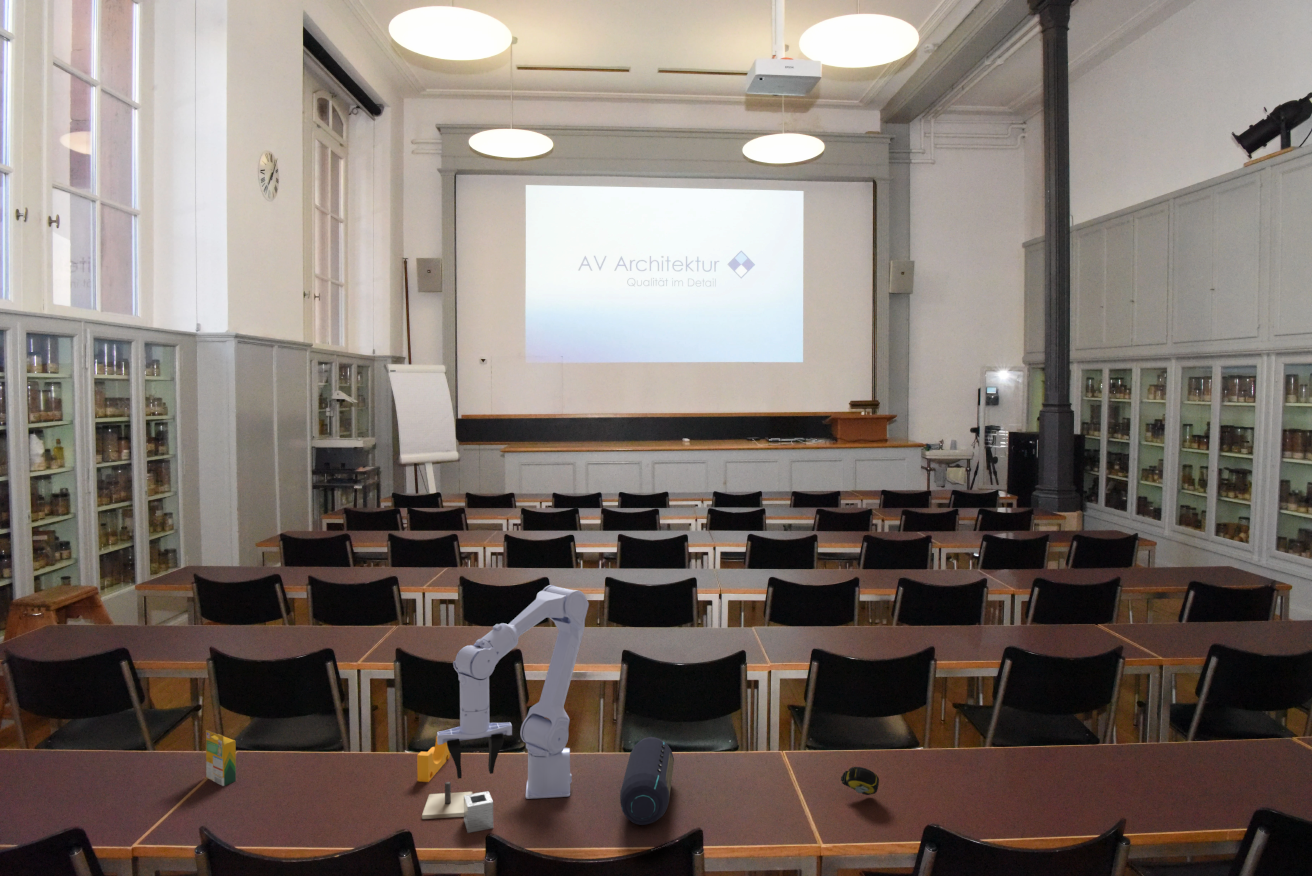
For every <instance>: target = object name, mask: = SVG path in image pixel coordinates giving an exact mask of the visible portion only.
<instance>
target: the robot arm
mask: <svg viewBox="0 0 1312 876" xmlns="http://www.w3.org/2000/svg"><path fill="white" fill-rule="evenodd" d="M589 606H590V602H589V601H588V599H587V596H586V595H585V593H584V592H583V591H581V590H577V589H570V588H564V587H560V586H556V585H553V584H549V585H547V586H545V587H544V588H543V589H542V590H540V591H539V592H537V594H536V597H535V599H534V600H533V601H532V602H531V603H530V604H528V606H527V607H525V608H524V609H523V610H522V611H521V612H520V613H519V614H518V615H516V617H514V619H512V620H510V622H509V623H508V624H507V623H504V622H501V623H496V624H495V625H493V626H492V629H491V630H490V631H489V632H488V633H486V634H485V635H484V636H482V637H481V638H478V639H477V640H475V642H474V644H473V645H472V644H469V645H466V646H464V647H462V648H461V649H459V651H458V652H457V654H456V656H455V660H453V662H452V665H453V668H454V670H455V671H456V673H457V675H458V681H459V726H457V727H452V728H449V729H446V730H440V731H437V732H436V737H437V743H438V745H441V744H444V743H446V742H447V746H448V750H449V752H450V757H451V758H452V760H453V762H454V765H455V767H456V777H457V779H458V780H459V779H462V776H463V775H462V765H461V764H462V763H461V762H462V756H461V755H462V747H461V741H467V740H475V739H483V738H488V765H487V766H488V773H489V774H490V775H492V774H494V771H495V765H496V761H497V758H498V755H499V752H500V751H501V749H502V747H503V744H504V740H505V739H504V735H506V736H513V725H512V723H511V722H510V721H509V722H508V721H507V722H490V676H491V675H492V674H493V672H494V670H495V669H496V668H495V667H496V665H497V664H498V663H499V661H500V660H501V659H502V658H503V657H505V656H506V655H507V654H508V653H510V651H512V650H513V649H514V648H516V647H517V646H518V643H519V637H521V636H522V635H524V633H526V632H528V631H529V630H530V629H532V628H534V626H536V625H538V624H539V623H541V622H542V621H543V620H545V619H546V618H549V619H550V620H551V621H552V622H553V623H554V625H555V627H556V629H557V630H558V633H557V637H556V641H555V644H554V647H553V651H552V655H551V658H550V661H549V662H550V663H549V665H548V668H547V669H548V670H547V673H546V677H545V681H544V684H543V687H542V691H541V695H540V698H539V701H538V702H537V703H535V704H534V705H532V706H531V707H530V708H529V710H528V713H527V715H526V716H525V719H524V720H523V722H522V723H521V726H520V739H521V740H522V741H523V742H524V743H525V749H526V750H527V780H526V787H525V788H526V789H525V799H526V800H528V799H531V800H533V799H535V800H536V799H548V798H563V797H570V796H571V783H572V782H573V781H572V780H573V779H572V777H573V776H572V773H571V748H570V747H566V746H567V744H568V740H569V734H570V733H569V726H570V717H569V715H568V713H567V712H566V709H565V708H564V705H565V702H566V699H567V695H568V692H569V687H570V684H571V680H572V676H573V674H574V673H573V672H574V669H575V665H576V662H577V658H578V654H579V650H580V646H581V642H582V639H583V635H584V632H585V623H586V617H587V613H588V609H589Z"/></svg>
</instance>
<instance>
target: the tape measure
mask: <svg viewBox="0 0 1312 876" xmlns="http://www.w3.org/2000/svg"><path fill="white" fill-rule="evenodd" d="M840 781H841V784H842V785H844V786H846V787H847V788H850V789H851V790H853V791H856V793H859V794H862V795H865V796H871V795H874V794H876V793H877V792H878V790H879V786H880V784H879V783H880V779H879V776H878V775H877V774H876V773H875V772H874V771H872V770H871V769H868V768H865V767H861V766H853V767H850V768H849V769H848V770H845V771H843V773H842V775H841V778H840Z"/></svg>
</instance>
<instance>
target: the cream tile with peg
mask: <svg viewBox="0 0 1312 876" xmlns="http://www.w3.org/2000/svg"><path fill="white" fill-rule="evenodd" d="M451 788H452V786H451V782H450V781H446V782H444V792H443V793H441V792H440V793H429V794H428V797H427V800H426V803H425V805H424V808H423V811H422V815H421V819H422V820H429V819H431V820H432V819H444V818H446V819H447V818H461V817H463V818H464V795H469V794H473V791H464V792H463V791H460V792H451V791H452V789H451Z"/></svg>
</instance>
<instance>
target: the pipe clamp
mask: <svg viewBox="0 0 1312 876" xmlns="http://www.w3.org/2000/svg"><path fill="white" fill-rule="evenodd" d="M416 756H417V759H416V760H417V761H416V762H417V764H416V765H417V766H416V767H417V782H420V783H422V782H423V783H429V782H430V781H431V780H432V779H433V777H434V776H435V775H436V774H437V773H438V772H439V771H440V770H441V768H442V767H443V766H444V765H445V764H446V763H447V760H449V759H450V757H451V754H450V752H449V750H448V746H447V742H446V743H444V744H441V745H438V743H437V736H435V745H434V746H432V747H430V749H428V751H420V752H419V753H418V754H417V755H416Z"/></svg>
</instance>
